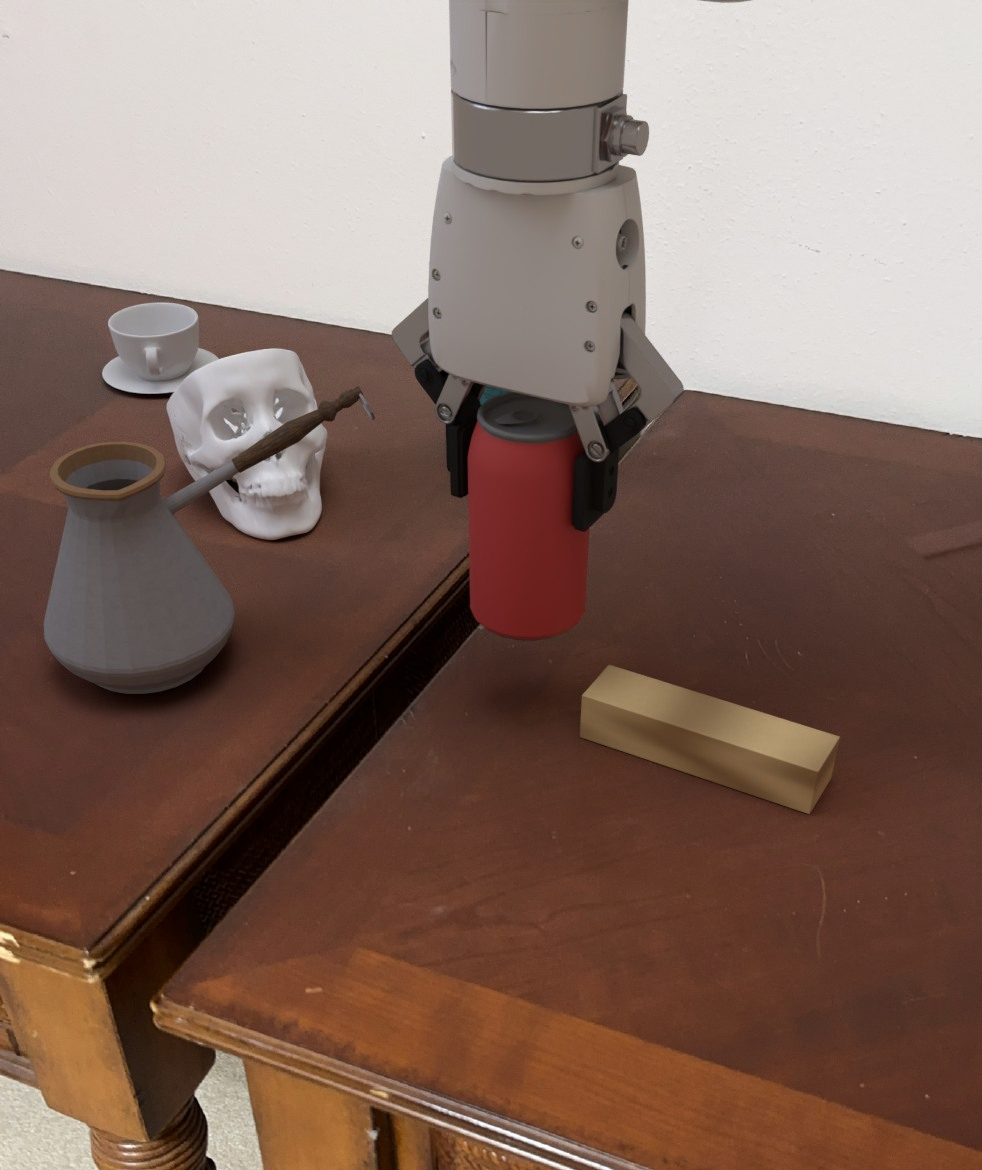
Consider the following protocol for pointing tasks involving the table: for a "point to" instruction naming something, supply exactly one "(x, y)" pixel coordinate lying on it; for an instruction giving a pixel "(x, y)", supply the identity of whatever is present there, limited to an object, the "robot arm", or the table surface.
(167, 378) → the teacup
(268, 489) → the skull bowl
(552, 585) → the beer can
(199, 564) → the coffee pot
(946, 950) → the table surface
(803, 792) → the batten
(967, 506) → the table surface
